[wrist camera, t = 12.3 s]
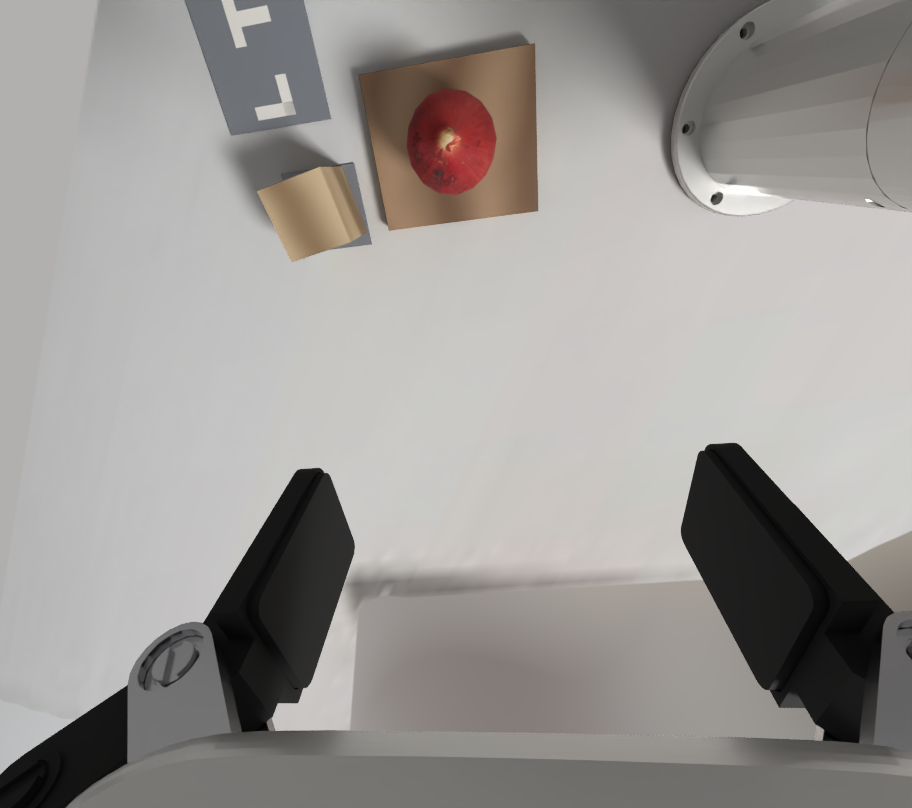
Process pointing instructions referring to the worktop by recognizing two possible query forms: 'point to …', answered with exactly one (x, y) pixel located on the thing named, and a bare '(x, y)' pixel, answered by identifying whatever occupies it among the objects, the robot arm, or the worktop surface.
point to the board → (514, 116)
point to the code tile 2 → (354, 186)
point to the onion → (451, 141)
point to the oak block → (313, 212)
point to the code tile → (261, 62)
